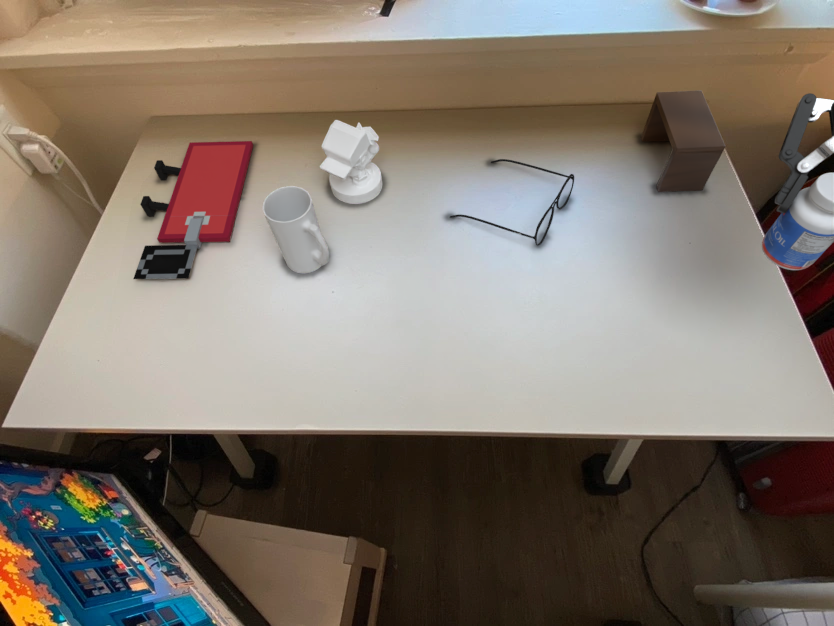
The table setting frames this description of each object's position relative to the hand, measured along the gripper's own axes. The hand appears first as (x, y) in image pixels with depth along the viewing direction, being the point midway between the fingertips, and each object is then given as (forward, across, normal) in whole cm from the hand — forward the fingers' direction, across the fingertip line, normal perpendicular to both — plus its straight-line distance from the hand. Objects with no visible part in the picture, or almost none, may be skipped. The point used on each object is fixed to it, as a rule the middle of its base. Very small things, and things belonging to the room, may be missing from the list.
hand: (813, 224), depth 54 cm
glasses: (+13, -35, +23) cm, 44 cm away
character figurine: (+20, -59, +15) cm, 64 cm away
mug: (+31, -54, +4) cm, 63 cm away
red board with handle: (+33, -78, +2) cm, 85 cm away
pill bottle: (+3, 0, +6) cm, 7 cm away
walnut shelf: (-3, -18, +38) cm, 43 cm away
